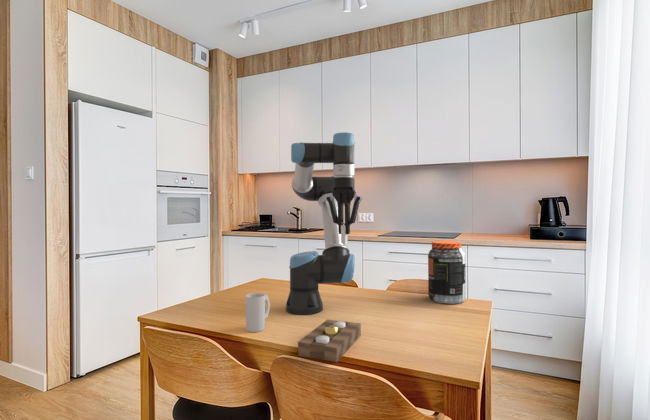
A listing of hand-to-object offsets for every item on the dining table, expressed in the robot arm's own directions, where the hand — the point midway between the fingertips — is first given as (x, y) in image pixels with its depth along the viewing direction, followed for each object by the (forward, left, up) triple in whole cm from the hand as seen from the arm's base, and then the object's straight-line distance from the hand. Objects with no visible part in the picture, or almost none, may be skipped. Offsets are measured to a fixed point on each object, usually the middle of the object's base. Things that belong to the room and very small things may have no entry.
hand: (344, 243), depth 136 cm
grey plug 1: (+2, -26, -29) cm, 39 cm away
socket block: (+2, -19, -29) cm, 35 cm away
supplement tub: (+30, +48, -30) cm, 64 cm away
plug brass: (+2, -19, -28) cm, 34 cm away
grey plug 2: (+2, -12, -29) cm, 31 cm away
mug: (-27, -14, -30) cm, 42 cm away
